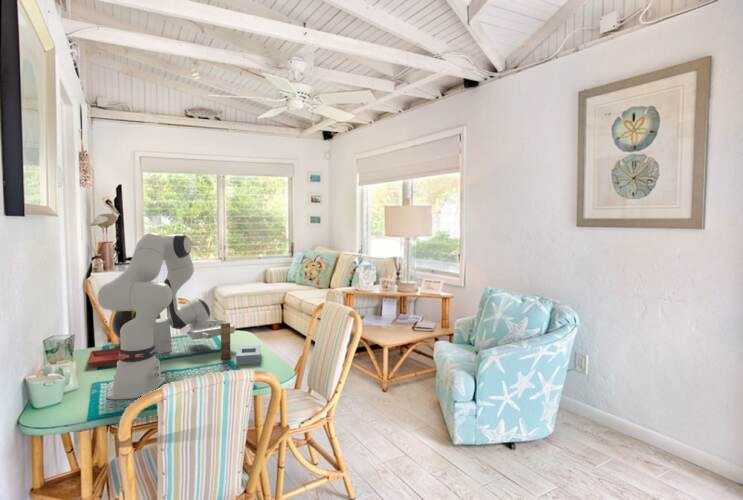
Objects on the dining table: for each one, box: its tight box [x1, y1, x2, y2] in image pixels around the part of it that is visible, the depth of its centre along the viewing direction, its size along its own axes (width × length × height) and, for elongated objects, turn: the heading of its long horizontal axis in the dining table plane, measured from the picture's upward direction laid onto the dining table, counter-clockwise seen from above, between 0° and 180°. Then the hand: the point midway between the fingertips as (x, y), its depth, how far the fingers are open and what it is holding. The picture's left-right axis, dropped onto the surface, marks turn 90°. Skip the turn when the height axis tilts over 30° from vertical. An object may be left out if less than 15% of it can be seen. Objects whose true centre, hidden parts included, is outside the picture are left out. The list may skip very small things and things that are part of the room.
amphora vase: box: [111, 311, 162, 347], centre depth 222 cm, size 22×22×28 cm
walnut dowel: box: [220, 321, 232, 361], centre depth 202 cm, size 4×4×16 cm
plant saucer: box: [86, 347, 121, 368], centre depth 199 cm, size 18×18×3 cm
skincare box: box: [153, 317, 173, 354], centre depth 212 cm, size 8×6×15 cm
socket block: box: [235, 345, 261, 366], centre depth 202 cm, size 14×10×4 cm
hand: (218, 334), depth 207 cm, fingers open, 8 cm apart
